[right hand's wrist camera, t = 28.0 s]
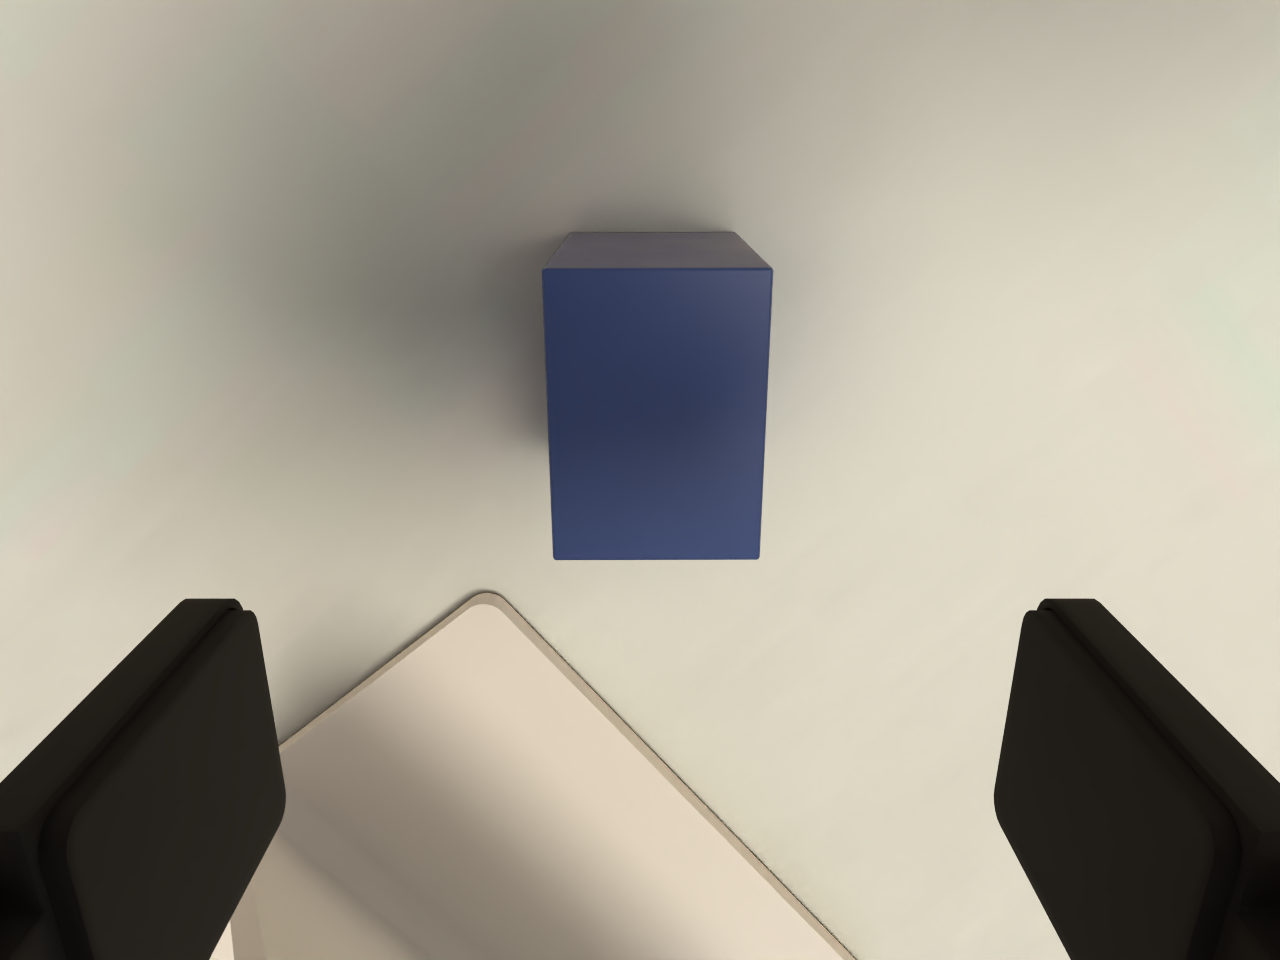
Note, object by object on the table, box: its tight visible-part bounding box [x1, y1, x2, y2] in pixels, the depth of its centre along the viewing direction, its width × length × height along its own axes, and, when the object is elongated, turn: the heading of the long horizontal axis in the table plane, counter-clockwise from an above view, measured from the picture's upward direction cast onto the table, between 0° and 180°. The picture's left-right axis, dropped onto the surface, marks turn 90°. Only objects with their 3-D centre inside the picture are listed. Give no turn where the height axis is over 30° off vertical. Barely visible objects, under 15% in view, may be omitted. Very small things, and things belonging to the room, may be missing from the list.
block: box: [542, 232, 773, 560], centre depth 26 cm, size 5×7×9 cm
